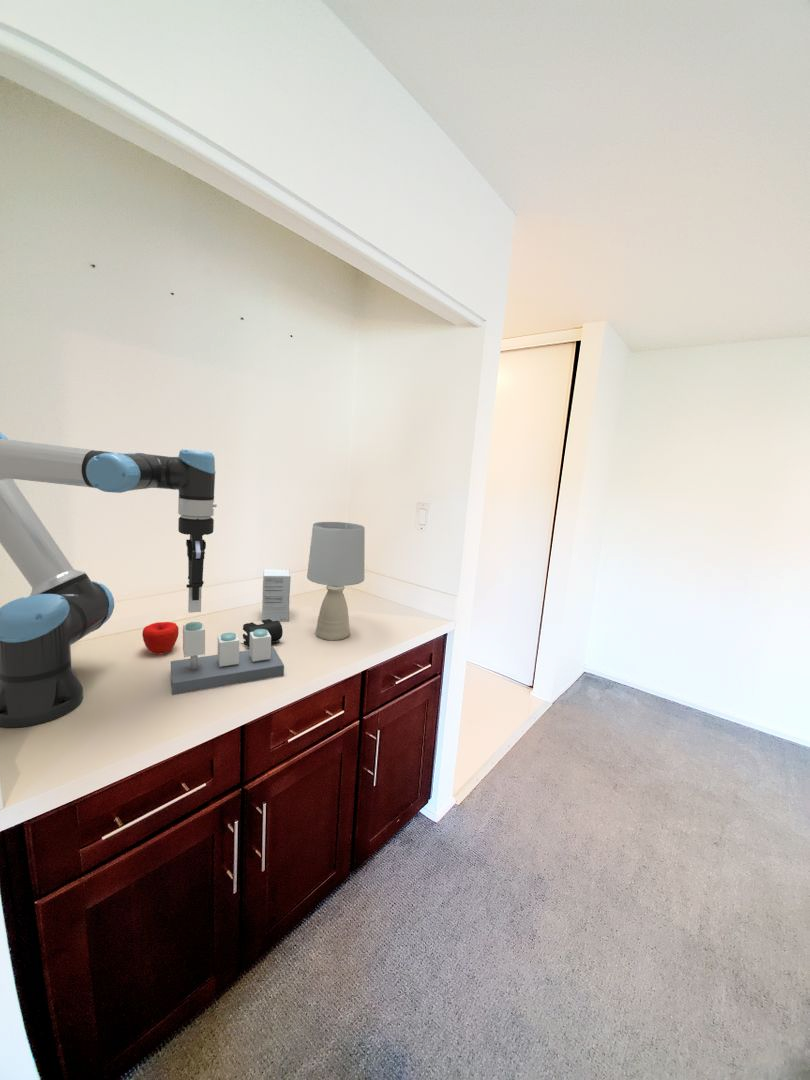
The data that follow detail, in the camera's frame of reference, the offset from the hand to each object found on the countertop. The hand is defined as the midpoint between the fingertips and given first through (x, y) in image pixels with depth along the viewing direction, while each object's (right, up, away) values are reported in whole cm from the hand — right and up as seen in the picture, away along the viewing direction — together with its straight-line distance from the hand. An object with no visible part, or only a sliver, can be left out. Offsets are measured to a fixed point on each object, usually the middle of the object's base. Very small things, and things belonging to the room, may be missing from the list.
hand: (194, 611), depth 104 cm
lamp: (+28, -14, +38) cm, 49 cm away
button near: (-1, -10, +1) cm, 11 cm away
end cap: (+8, -15, +26) cm, 31 cm away
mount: (+5, -18, +7) cm, 20 cm away
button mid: (+6, -14, +6) cm, 16 cm away
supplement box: (+5, -11, +49) cm, 50 cm away
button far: (+13, -14, +10) cm, 21 cm away
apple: (-18, -14, +16) cm, 28 cm away
